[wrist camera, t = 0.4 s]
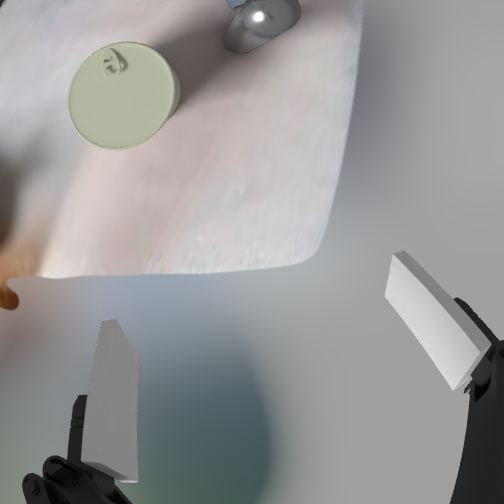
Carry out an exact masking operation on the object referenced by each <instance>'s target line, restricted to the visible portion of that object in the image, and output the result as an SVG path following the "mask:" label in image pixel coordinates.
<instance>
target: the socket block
mask: <svg viewBox="0 0 504 504" xmlns="http://www.w3.org/2000/svg"><path fill="white" fill-rule="evenodd" d="M245 1H246V0H227V2H228V3H229V5H230V6H231V8H232V9H234V8H237V7H240V6H242V5H243V4H244V3H245Z"/></svg>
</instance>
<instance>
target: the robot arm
mask: <svg viewBox="0 0 504 504" xmlns="http://www.w3.org/2000/svg"><path fill="white" fill-rule="evenodd" d="M2 1H3V0H0V4H1V2H2ZM385 297H386V298H387V299H388V301H389V302H390V303H391V304H392V306H393V307H394V308H395V310H396V311H397V312H398V314H399V315H400V316H401V318H402V319H403V320H404V321H405V323H406V324H407V325H408V327H409V328H410V330H411V331H412V332H413V333H414V335H415V336H416V338H417V339H418V340H419V342H420V343H421V345H422V346H423V347H424V349H425V350H426V352H427V353H428V354H429V356H430V357H431V359H432V360H433V361H434V363H435V364H436V366H437V367H438V369H439V370H440V371H441V373H442V375H443V376H444V378H445V379H446V381H447V382H448V383H449V385H450V387H451V388H452V390H454V389H456V388H457V387H459V386H460V385H462V384H463V383H465V381H466V380H467V379H468V377H469V376H470V375H471V377H472V378H473V379H472V380H471V382H470V383H469V384H468V386H467V387H466V388H465V390H464V393H466V392H467V391H468V390H469V388H470V391H469V394H470V401H469V411H468V420H467V428H466V435H465V442H464V447H463V452H462V458H461V462H460V467H459V471H458V475H457V479H456V483H455V487H454V491H453V495H452V498H451V501H450V504H504V340H501V341H499V339H498V338H497V337H496V336H495V335H494V334H493V333H492V331H491V330H490V329H489V328H488V327H487V326H486V324H485V323H484V322H483V321H482V320H481V319H480V318H478V315H477V314H476V313H475V312H473V310H472V309H471V308H470V306H469V305H468V304H467V303H466V302H464V301H462V300H461V299H459V298H455V299H452V298H451V296H450V295H449V294H448V293H447V292H446V291H445V290H444V289H443V288H442V287H441V286H440V285H439V284H438V283H437V282H436V281H435V280H434V279H433V278H432V277H431V276H430V275H429V274H428V273H427V272H426V271H425V270H424V269H423V268H422V267H421V266H420V265H419V264H418V263H417V262H416V261H415V260H414V259H413V258H412V257H411V256H410V255H409V254H408V253H407V252H406V251H401V252H398V253H394V254H393V256H392V262H391V267H390V272H389V278H388V283H387V287H386V292H385ZM138 370H139V355H138V354H137V352H136V351H135V349H134V347H133V346H132V344H131V343H130V341H129V340H128V338H127V336H126V335H125V333H124V332H123V330H122V328H121V326H120V325H119V323H118V321H117V320H116V319H113V320H108V321H102V323H101V327H100V331H99V336H98V340H97V345H96V350H95V355H94V360H93V365H92V371H91V376H90V383H89V389H88V395H79V396H78V398H77V400H76V401H75V403H74V406H73V411H72V419H71V428H70V434H69V444H68V456H67V460H66V459H64V458H62V457H60V456H51V457H49V458H47V460H46V461H45V462H44V465H43V477H40V476H39V475H37V474H34V473H30V474H27V475H26V476H25V478H24V479H23V483H22V488H23V493H24V496H25V499H26V502H27V504H132V503H131V502H130V501H129V500H128V498H127V497H126V496H125V495H124V494H123V493H122V492H121V491H120V489H119V488H118V487H117V486H116V485H114V479H116V480H118V481H121V482H138V463H137V390H138Z"/></svg>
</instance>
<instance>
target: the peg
mask: <svg viewBox="0 0 504 504" xmlns="http://www.w3.org/2000/svg"><path fill="white" fill-rule="evenodd" d="M300 15H301V8H300V5H299V2H298V1H297V0H246V1H245V3H244V4H243V6H242V7H241V9H240V10H239V11H238V13H237V14H236V16H235V17H234V19H233V21H232V22H231V24H230V25H229V27H228V28H227V30H226V31H225V33H224V37H223V40H224V44H225V46H226V47H227V48H228V49H229V50H230V51H232V52H234V53H238V54H243V53H248V52H250V51H252V50H253V49H255V48H257V47H258V46H260V45H262V44H263V43H265V42H267V41H269V40H270V39H272V38H274V37H276V36H277V35H279V34H281V33H283V32H285V31H287V30H289V29H290V28H292V27H293V26H295V25H296V24H297V22H298V21H299V19H300Z"/></svg>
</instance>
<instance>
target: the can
mask: <svg viewBox="0 0 504 504" xmlns="http://www.w3.org/2000/svg"><path fill="white" fill-rule="evenodd" d="M180 96H181V84H180V80H179V77H178V75H177V73H176V71H175V70H174V69H173V68H172V67H171V66H170V65H169V63H168V62H167V60H166V59H165V58H164V57H163V56H162V55H161V54H160V53H159V52H158V51H156V50H155V49H153V48H151V47H149V46H147V45H145V44H141V43H137V42H120V43H115V44H111V45H108V46H106V47H104V48H101V49H100V50H98V51H96V52H95V53H93V54H92V55H91V56H89V57H88V58H87V59H86V60H85V61H84V62H83V63H82V65H81V66H80V67H79V69H78V70H77V72H76V73H75V75H74V77H73V79H72V81H71V84H70V87H69V91H68V98H67V108H68V114H69V118H70V121H71V123H72V125H73V127H74V129H75V130H76V132H77V133H78V134H79V135H80V136H81V138H82V139H84V140H85V141H86V142H88V143H89V144H91V145H93V146H95V147H98V148H101V149H105V150H125V149H129V148H132V147H135V146H138V145H140V144H142V143H144V142H145V141H147V140H148V139H150V138H151V137H152V136H153V135H155V134H156V133H157V132H158V131H159V130H160V128H161V127H162V126H163V125H164V123H165V122H166V121H167V120H168V119H169V118H170V117H171V116H172V114H173V113H174V111H175V110H176V108H177V106H178V103H179V100H180Z"/></svg>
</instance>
